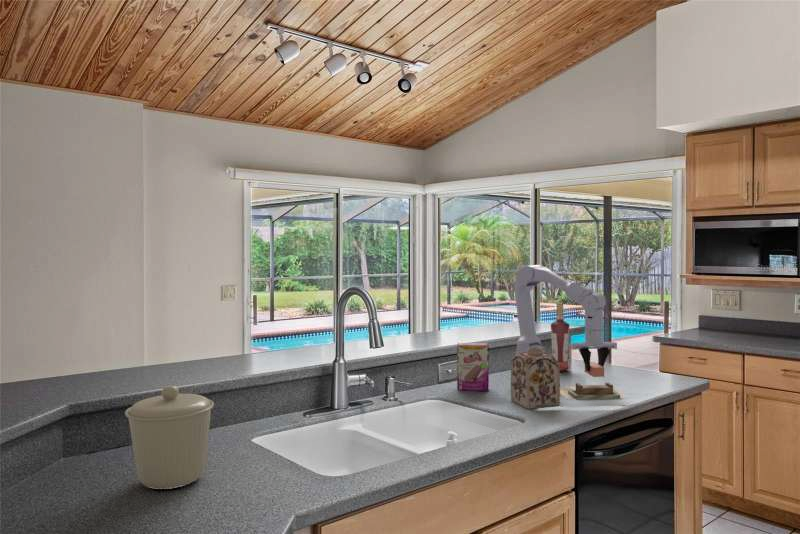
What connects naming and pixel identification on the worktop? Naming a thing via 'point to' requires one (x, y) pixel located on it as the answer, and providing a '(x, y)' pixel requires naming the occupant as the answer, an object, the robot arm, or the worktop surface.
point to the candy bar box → (472, 366)
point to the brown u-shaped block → (594, 389)
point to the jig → (571, 394)
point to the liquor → (560, 339)
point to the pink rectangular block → (595, 370)
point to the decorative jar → (535, 379)
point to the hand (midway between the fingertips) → (594, 370)
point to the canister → (170, 437)
